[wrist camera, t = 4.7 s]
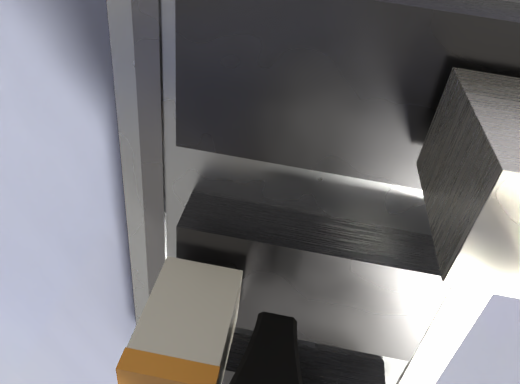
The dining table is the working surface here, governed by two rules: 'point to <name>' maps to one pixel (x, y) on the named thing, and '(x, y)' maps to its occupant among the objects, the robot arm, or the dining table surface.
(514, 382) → the dining table surface
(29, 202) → the dining table surface
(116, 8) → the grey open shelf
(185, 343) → the handle
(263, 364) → the robot arm
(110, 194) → the dining table surface
